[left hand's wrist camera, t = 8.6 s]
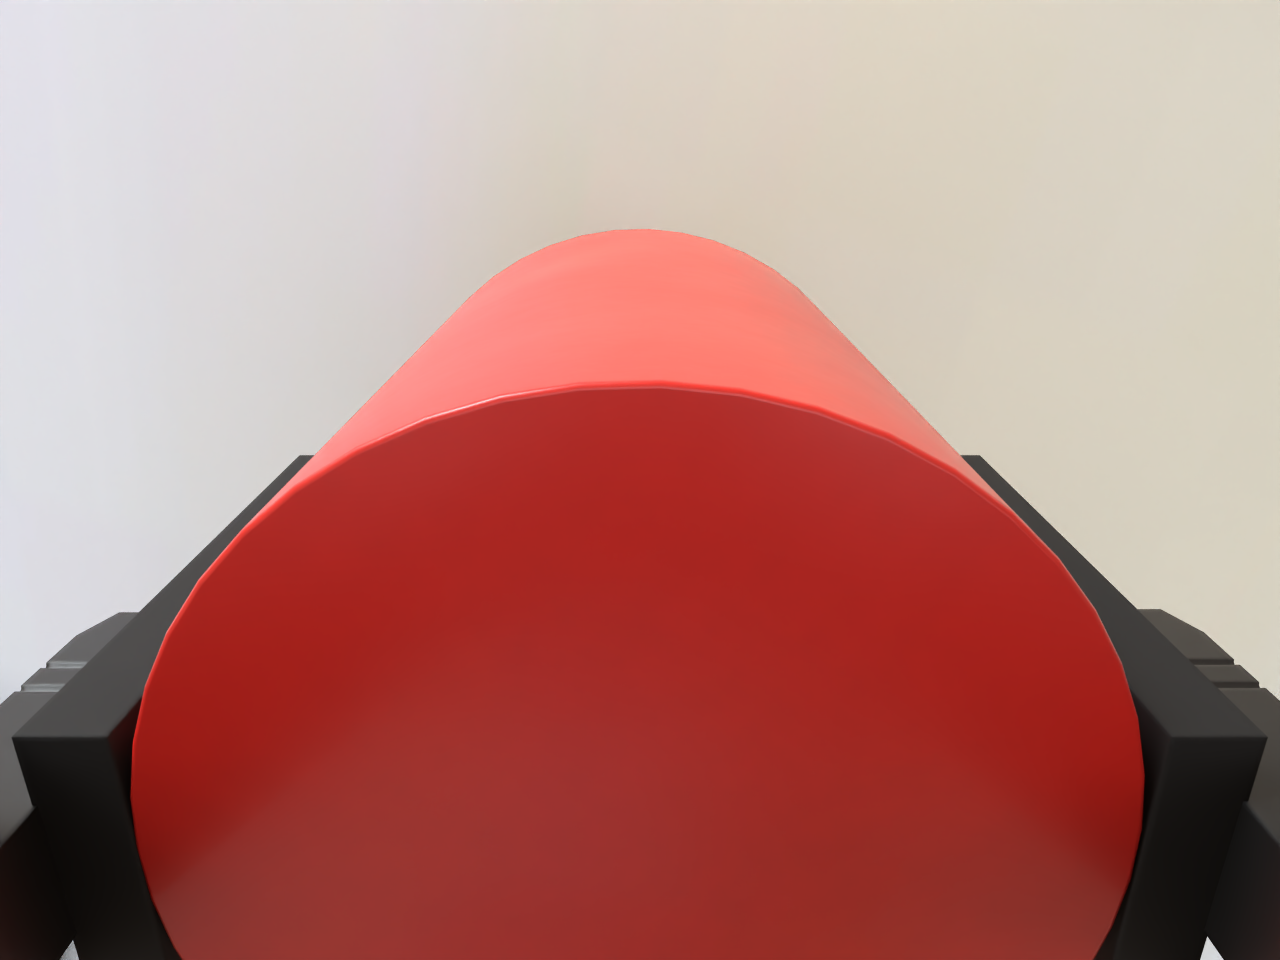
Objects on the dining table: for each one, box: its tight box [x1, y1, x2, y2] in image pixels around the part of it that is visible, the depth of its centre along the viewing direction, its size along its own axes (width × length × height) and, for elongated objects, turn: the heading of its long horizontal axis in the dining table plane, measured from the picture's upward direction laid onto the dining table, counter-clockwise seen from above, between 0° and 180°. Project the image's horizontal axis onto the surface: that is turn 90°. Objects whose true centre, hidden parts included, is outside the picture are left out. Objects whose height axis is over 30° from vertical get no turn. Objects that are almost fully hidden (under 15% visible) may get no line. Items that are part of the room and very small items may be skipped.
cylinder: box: [130, 229, 1145, 960], centre depth 12 cm, size 8×8×10 cm
